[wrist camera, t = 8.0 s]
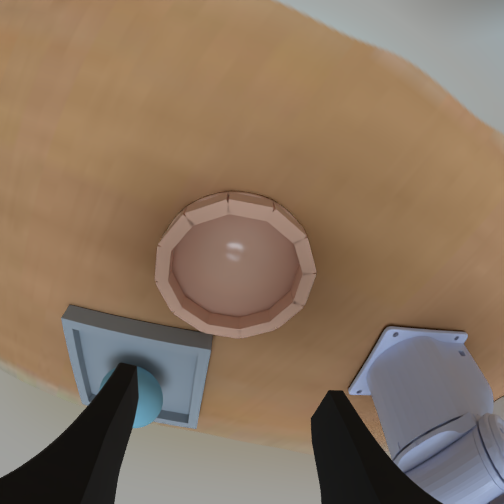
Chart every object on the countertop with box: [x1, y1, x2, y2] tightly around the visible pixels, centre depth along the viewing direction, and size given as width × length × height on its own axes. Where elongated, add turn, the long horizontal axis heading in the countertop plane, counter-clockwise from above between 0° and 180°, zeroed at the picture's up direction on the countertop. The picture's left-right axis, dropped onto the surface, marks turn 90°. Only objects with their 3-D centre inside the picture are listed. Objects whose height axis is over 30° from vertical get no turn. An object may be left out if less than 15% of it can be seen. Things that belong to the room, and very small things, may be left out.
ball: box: [99, 366, 163, 428], centre depth 22 cm, size 5×5×5 cm
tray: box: [61, 305, 213, 429], centre depth 24 cm, size 11×11×2 cm
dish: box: [155, 191, 316, 338], centre depth 19 cm, size 9×9×2 cm
